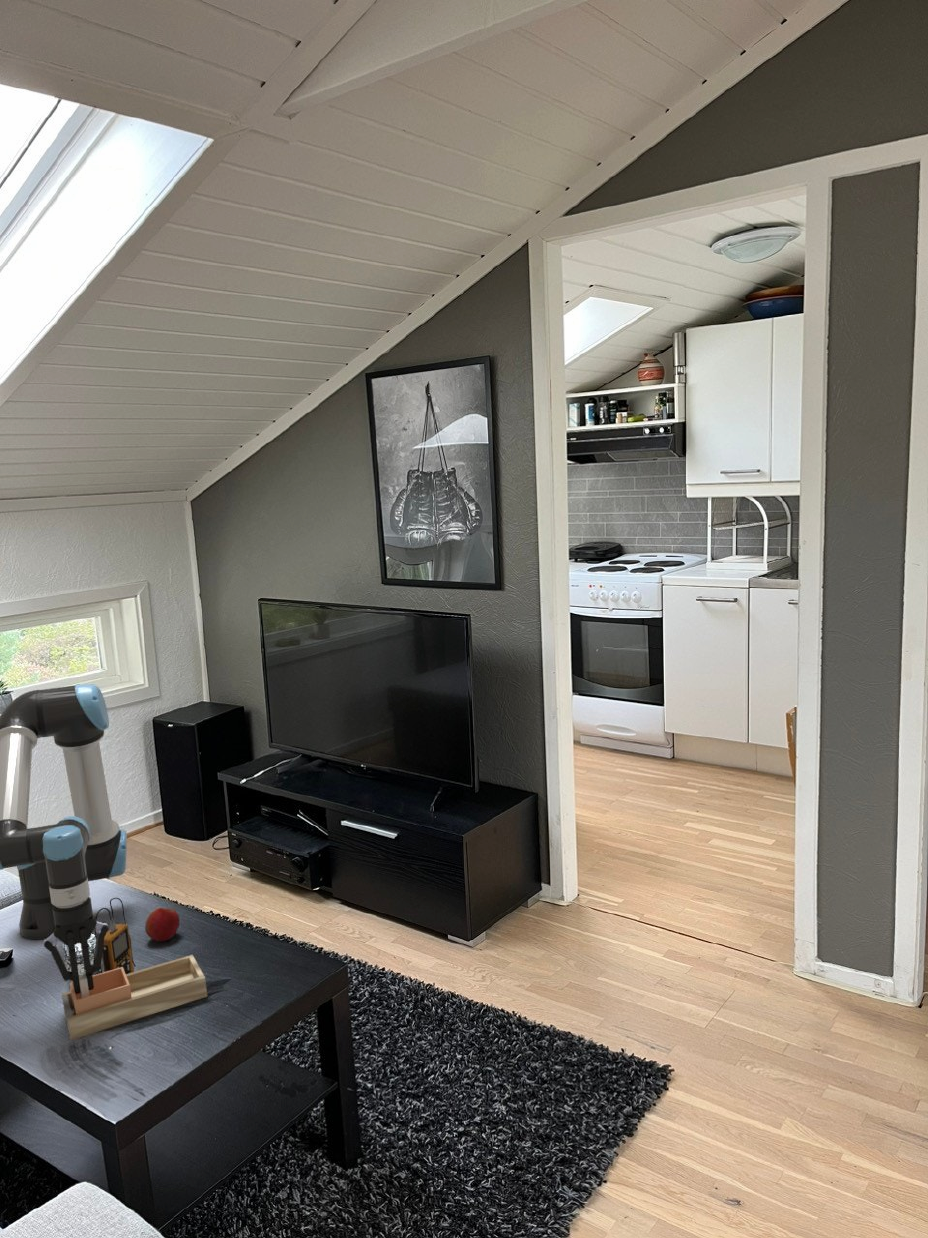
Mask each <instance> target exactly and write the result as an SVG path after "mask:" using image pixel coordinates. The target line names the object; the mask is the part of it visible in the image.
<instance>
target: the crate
mask: <svg viewBox="0 0 928 1238" xmlns="http://www.w3.org/2000/svg"><path fill="white" fill-rule="evenodd" d="M92 977H93V984H94V988H93V989H92V990H89V996H88V997H85V998H81V993H79V994H76V993H75V991H74V986H73V981H70V982H68V983H69V991H71V997H72V1003H73V1009H74V1013H75V1015H78V1014H81V1013H84V1012H88V1011H91V1010H94V1009H97V1008H101V1007H104V1006H107V1005H110V1004H113V1003H117V1002H120V1001H123V1000H126V999H130V998H132V997H131V989H130V984H129V981H128V979H127V976H126V974H125V971H124V969H123V967H120V968H117V969H114V970H110V971H107V972H104V971H102V973H101V972H100V973H97V974H93V976H92Z"/></svg>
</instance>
